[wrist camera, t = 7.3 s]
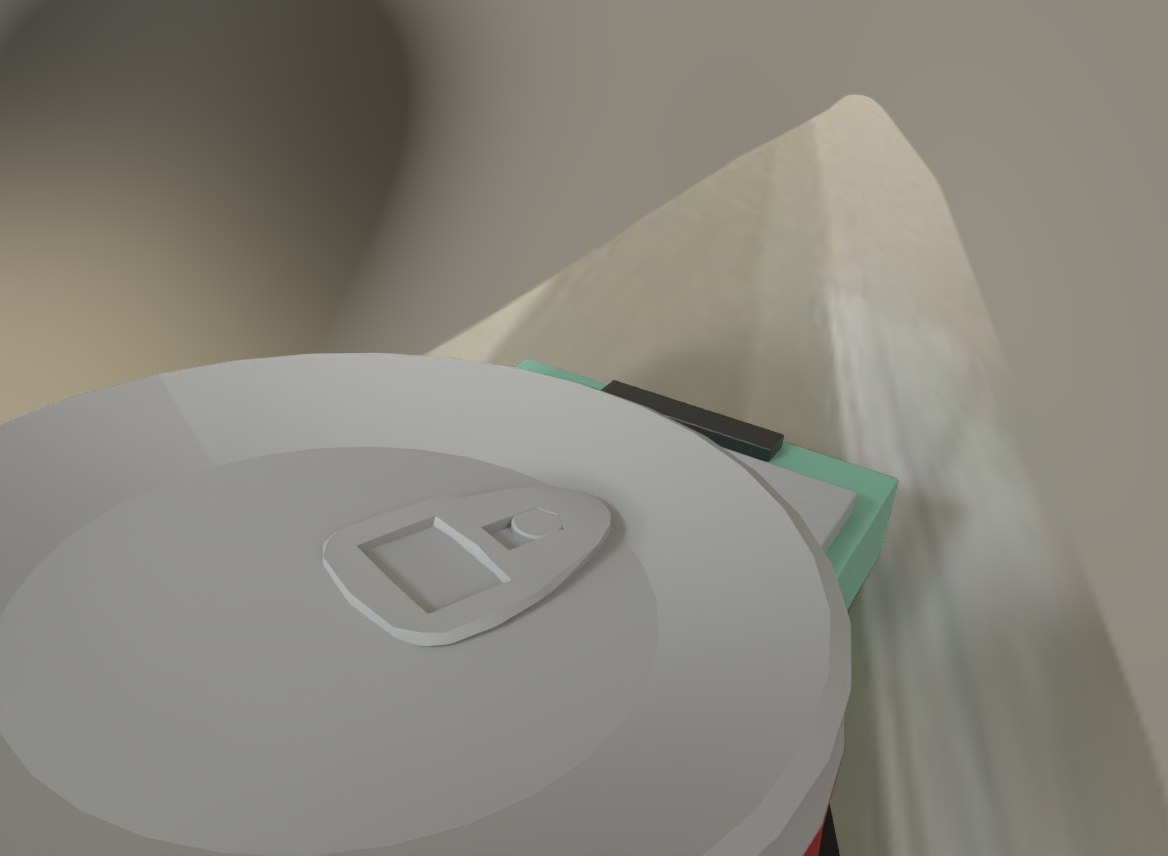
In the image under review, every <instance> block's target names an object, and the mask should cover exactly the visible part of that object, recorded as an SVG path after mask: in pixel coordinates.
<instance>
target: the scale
mask: <svg viewBox="0 0 1168 856" xmlns="http://www.w3.org/2000/svg"><path fill="white" fill-rule="evenodd" d="M514 368H519V369H524V370H528V371H532V372H536V373H540V374H544V375H548V376H552V377H556V378H560V379H564V380H568V381H572V382H576V383H580V384H584V385H588V386H591V387H593V388H596V389H599V390H602V391H604V392H607V393H610V394H613V395H615V396H618V397H621V398H624V399H626V400H629V401H632V402H635V403H637V404H640V405H643V406H646V407H648V408H651V409H653V410H655V411H657V412H659V413H661V414H663V415H665V416H667V417H669V418H671V419H673V420H675V421H677V422H679V423H681V424H682V425H684V426H686V427H688V428H690V429H692V430H694V431H696V432H698V433H700V434H702V435H704V436H706V437H708V438H709V439H711V440H712V441H714V442H715V443H716V444H718V445H719V446H721V447H722V448H724V449H725V450H726V451H728V452H729V453H731V454H732V455H734V456H735V457H736V458H738V459H739V460H741V461H742V462H744V463H745V464H746V465H748V466H749V467H751V468H752V469H754V470H755V471H757V472H758V473H759V474H760V475H761V476H762V477H763V478H764V479H765V480H766V481H767V482H768V483H769V484H770V485H771V486H772V487H773V488H774V489H775V490H776V491H777V492H778V493H779V494H780V495H781V496H782V497H783V498H784V499H785V500H786V501H787V502H788V503H789V504H790V505H791V506H792V507H793V508H794V509H795V510H796V511H797V512H798V513H799V514H800V515H801V517H802V518H803V520H804V522H805V523H806V525H807V526H808V528H809V529H810V531H811V532H812V534H813V536H814V537H815V539H816V540H817V542H818V543H819V545H820V546H821V548H822V549H823V551H824V553H825V554H826V556H827V557H828V559H829V560H830V562H831V563H832V565H833V568H834V572H835V575H836V578H837V581H838V584H839V587H840V590H841V593H842V596H843V600H844V603H845V606H846V609H847V610H848V608H849V607H850V605H851V603H852V601H853V600H854V598H855V596H856V595H857V593H858V591H859V589H860V588H861V586H862V584H863V583H864V581H865V579H866V577H867V576H868V574H869V572H870V570H871V569H872V567H873V565H874V564H875V562H876V560H877V558H878V557H879V554H880V550H881V546H882V543H883V539H884V535H885V531H886V528H887V524H888V520H889V516H890V512H891V509H892V505H893V501H894V497H895V494H896V490H897V486H898V482H899V481H898V479H897V478H894V477H891V476H888V475H885V474H882V473H879V472H876V471H872V470H869V469H866V468H863V467H860V466H857V465H854V464H851V463H848V462H845V461H842V460H839V459H836V458H832V457H829V456H826V455H823V454H820V453H817V452H814V451H811V450H808V449H805V448H802V447H799V446H795V445H792V444H789V443H786V442H783V439H784V435H783V434H780V433H777V432H774V431H771V430H767V429H764V428H761V427H758V426H755V425H752V424H749V423H746V422H743V421H739V420H736V419H733V418H730V417H727V416H724V415H721V414H718V413H715V412H712V411H708V410H705V409H702V408H699V407H696V406H693V405H690V404H687V403H684V402H680V401H677V400H674V399H671V398H668V397H665V396H662V395H659V394H656V393H653V392H649V391H646V390H643V389H640V388H637V387H634V386H631V385H628V384H625V383H621V382H618V381H615V380H613V381H612V382H611V383H609V384H604V383H601V382H598V381H595V380H592V379H589V378H586V377H583V376H580V375H577V374H574V373H571V372H568V371H564V370H561V369H558V368H555V367H552V366H549V365H546V364H543V363H540V362H537V361H534V360H531V359H526V360H525V361H523V362H521V363H520V364H518V365H517V366H515V367H514Z"/></svg>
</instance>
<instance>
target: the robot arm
mask: <svg viewBox="0 0 1168 856" xmlns="http://www.w3.org/2000/svg"><path fill="white" fill-rule="evenodd" d="M818 856H840V854H839V849H838V844H837V839H836V834H835V829H834V824H833V818H832V813H831V808H830V803H829V807H828V811H827V814H826V818H825V822H824V825H823V830H822V836H821V842H820V848H819V854H818Z"/></svg>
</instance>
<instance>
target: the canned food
mask: <svg viewBox="0 0 1168 856" xmlns="http://www.w3.org/2000/svg"><path fill="white" fill-rule="evenodd" d="M851 688H852V685H851V621H850V618H849V615H848V612H847V609H846V606H845V603H844V600H843V596H842V593H841V590H840V587H839V584H838V581H837V578H836V575H835V572H834V568H833V565H832V563H831V562H830V560H829V559H828V557H827V556H826V554H825V553H824V551H823V549H822V548H821V546H820V545H819V543H818V542H817V540H816V539H815V537H814V536H813V534H812V532H811V531H810V529H809V528H808V526H807V525H806V523H805V522H804V520H803V518H802V517H801V515H800V514H799V513H798V512H797V511H796V510H795V509H794V508H793V507H792V506H791V505H790V504H789V503H788V502H787V501H786V500H785V499H784V498H783V497H782V496H781V495H780V494H779V493H778V492H777V491H776V490H775V489H774V488H773V487H772V486H771V485H770V484H769V483H768V482H767V481H766V480H765V479H764V478H763V477H762V476H761V475H760V474H759V473H758V472H757V471H755V470H754V469H752V468H751V467H749V466H748V465H746V464H745V463H744V462H742V461H741V460H739V459H738V458H736V457H735V456H734V455H732V454H731V453H729V452H728V451H726V450H725V449H724V448H722V447H721V446H719V445H718V444H716V443H715V442H714V441H712V440H711V439H709V438H708V437H706V436H704V435H702V434H700V433H698V432H696V431H694V430H692V429H690V428H688V427H686V426H684V425H682V424H681V423H679V422H677V421H675V420H673V419H671V418H669V417H667V416H665V415H663V414H661V413H659V412H657V411H655V410H653V409H651V408H648V407H646V406H643V405H640V404H637V403H635V402H632V401H629V400H626V399H624V398H621V397H618V396H615V395H613V394H610V393H607V392H604V391H602V390H599V389H596V388H593V387H591V386H588V385H584V384H580V383H576V382H572V381H568V380H564V379H560V378H556V377H552V376H548V375H544V374H540V373H536V372H532V371H528V370H524V369H519V368H514V367H507V366H501V365H494V364H488V363H481V362H475V361H468V360H462V359H455V358H447V357H432V356H418V355H403V354H388V353H339V354H301V355H291V356H281V357H269V358H259V359H247V360H236V361H230V362H224V363H218V364H213V365H207V366H201V367H195V368H190V369H184V370H178V371H172V372H167V373H161V374H156V375H152V376H148V377H144V378H140V379H137V380H133V381H129V382H125V383H122V384H118V385H114V386H110V387H106V388H102V389H99V390H95V391H91V392H87V393H84V394H80V395H76V396H73V397H70V398H67V399H64V400H62V401H59V402H56V403H53V404H51V405H48V406H45V407H42V408H40V409H37V410H34V411H32V412H29V413H26V414H23V415H21V416H18V417H15V418H12V419H10V420H7V421H4V422H1V423H0V856H818V854H819V848H820V842H821V836H822V830H823V825H824V822H825V818H826V814H827V811H828V807H829V803H830V800H831V796H832V793H833V789H834V785H835V782H836V778H837V774H838V771H839V767H840V764H841V760H842V756H843V753H844V714H845V711H846V707H847V703H848V700H849V696H850V692H851Z"/></svg>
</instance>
